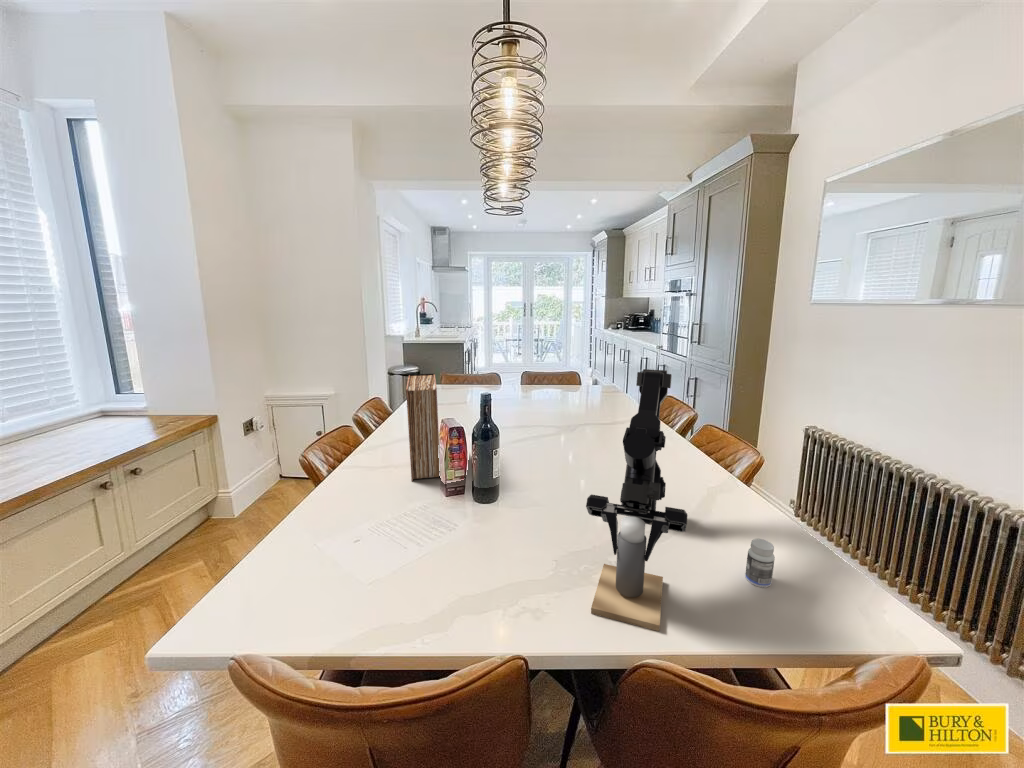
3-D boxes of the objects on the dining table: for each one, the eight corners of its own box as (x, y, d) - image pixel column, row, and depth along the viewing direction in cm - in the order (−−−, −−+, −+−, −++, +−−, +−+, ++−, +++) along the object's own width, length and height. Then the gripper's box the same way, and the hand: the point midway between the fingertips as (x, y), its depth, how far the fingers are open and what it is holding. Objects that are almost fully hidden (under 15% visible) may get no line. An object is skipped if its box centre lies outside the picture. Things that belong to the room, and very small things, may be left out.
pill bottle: (747, 570, 91) (751, 534, 89) (773, 579, 88) (778, 542, 86) (742, 581, 87) (747, 544, 85) (768, 591, 84) (774, 553, 83)
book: (440, 479, 136) (436, 387, 130) (411, 481, 135) (405, 389, 128) (438, 451, 161) (434, 373, 154) (413, 453, 159) (408, 374, 153)
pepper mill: (634, 576, 86) (638, 513, 83) (648, 594, 81) (653, 527, 78) (610, 581, 84) (613, 517, 81) (623, 599, 80) (627, 531, 77)
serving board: (603, 568, 91) (603, 563, 91) (662, 581, 87) (662, 576, 87) (590, 613, 79) (591, 607, 78) (659, 631, 74) (659, 625, 74)
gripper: (589, 457, 84) (575, 536, 77) (691, 470, 78) (686, 559, 70) (595, 478, 93) (583, 550, 86) (687, 491, 87) (682, 572, 79)
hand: (630, 557), depth 80 cm, fingers open, 5 cm apart
